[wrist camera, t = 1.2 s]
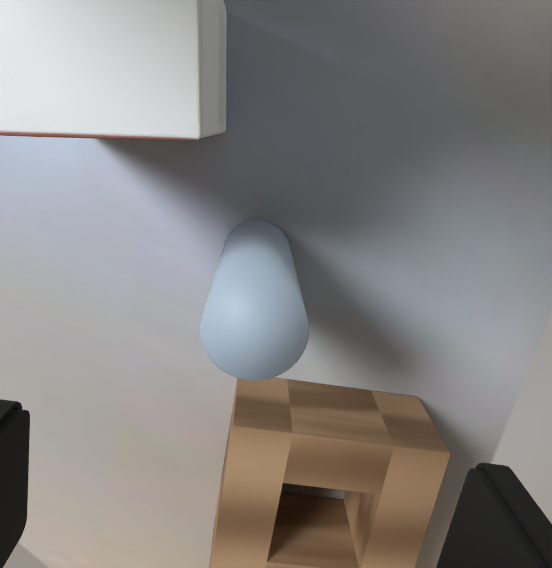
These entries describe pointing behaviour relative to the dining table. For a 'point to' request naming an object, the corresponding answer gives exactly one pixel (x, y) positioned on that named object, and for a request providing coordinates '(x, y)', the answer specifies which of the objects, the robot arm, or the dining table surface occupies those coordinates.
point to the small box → (113, 68)
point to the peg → (255, 305)
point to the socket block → (326, 477)
